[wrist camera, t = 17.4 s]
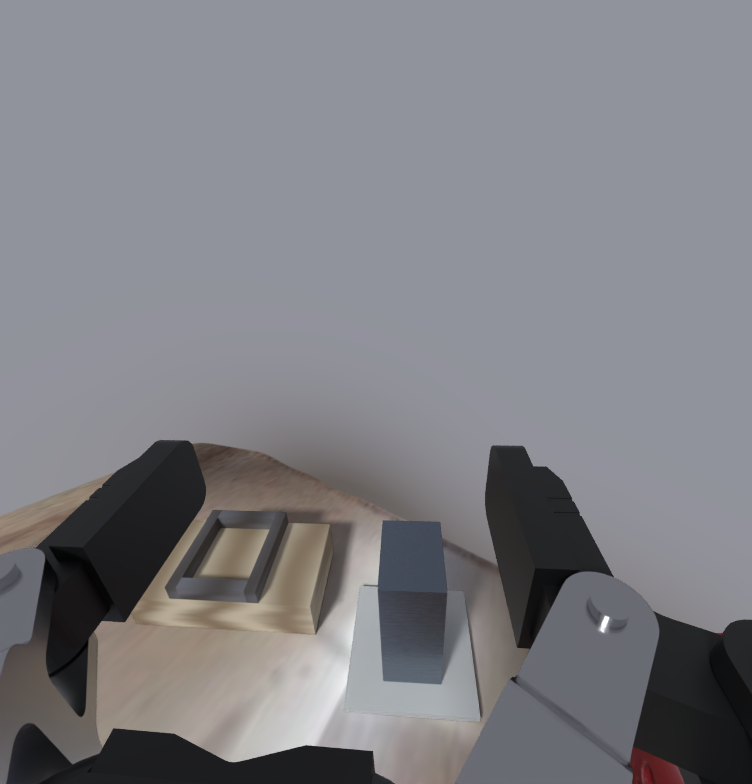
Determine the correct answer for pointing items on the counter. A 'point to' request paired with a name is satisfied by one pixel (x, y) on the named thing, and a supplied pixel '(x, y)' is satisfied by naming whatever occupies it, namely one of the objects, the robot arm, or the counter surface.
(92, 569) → the robot arm
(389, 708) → the rubber mat
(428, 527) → the brushed metal block
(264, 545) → the tan piece
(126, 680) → the counter surface
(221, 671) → the counter surface
